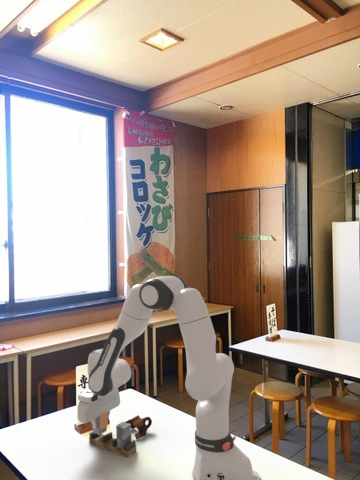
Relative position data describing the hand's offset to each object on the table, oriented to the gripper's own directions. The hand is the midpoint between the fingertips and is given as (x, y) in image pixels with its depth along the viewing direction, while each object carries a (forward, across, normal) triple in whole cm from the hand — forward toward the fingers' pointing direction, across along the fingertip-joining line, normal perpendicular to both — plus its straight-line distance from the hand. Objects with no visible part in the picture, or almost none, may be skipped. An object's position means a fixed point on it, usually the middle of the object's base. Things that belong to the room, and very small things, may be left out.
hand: (100, 425), depth 159 cm
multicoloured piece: (+3, 0, 0) cm, 3 cm away
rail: (+7, 0, +6) cm, 9 cm away
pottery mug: (+7, -14, +8) cm, 17 cm away
